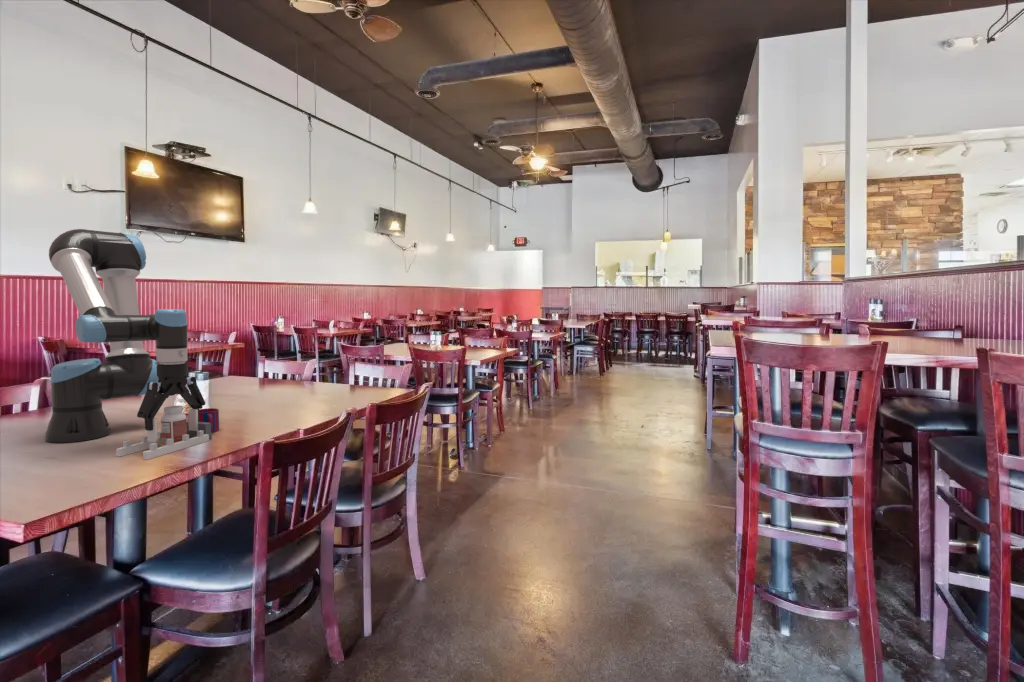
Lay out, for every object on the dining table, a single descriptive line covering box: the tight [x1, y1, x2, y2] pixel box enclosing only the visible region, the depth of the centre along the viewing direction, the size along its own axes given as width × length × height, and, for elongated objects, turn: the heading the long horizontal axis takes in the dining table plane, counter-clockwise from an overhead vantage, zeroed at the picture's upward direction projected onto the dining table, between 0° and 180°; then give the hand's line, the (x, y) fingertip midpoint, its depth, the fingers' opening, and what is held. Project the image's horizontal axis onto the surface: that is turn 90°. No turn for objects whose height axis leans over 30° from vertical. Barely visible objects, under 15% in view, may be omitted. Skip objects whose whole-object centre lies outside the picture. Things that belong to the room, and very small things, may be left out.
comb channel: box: [115, 420, 212, 461], centre depth 148 cm, size 10×22×5 cm, turn 165°
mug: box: [198, 407, 220, 434], centre depth 166 cm, size 7×10×7 cm
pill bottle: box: [160, 405, 187, 446], centre depth 150 cm, size 6×6×11 cm
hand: (173, 435), depth 150 cm, fingers open, 13 cm apart
